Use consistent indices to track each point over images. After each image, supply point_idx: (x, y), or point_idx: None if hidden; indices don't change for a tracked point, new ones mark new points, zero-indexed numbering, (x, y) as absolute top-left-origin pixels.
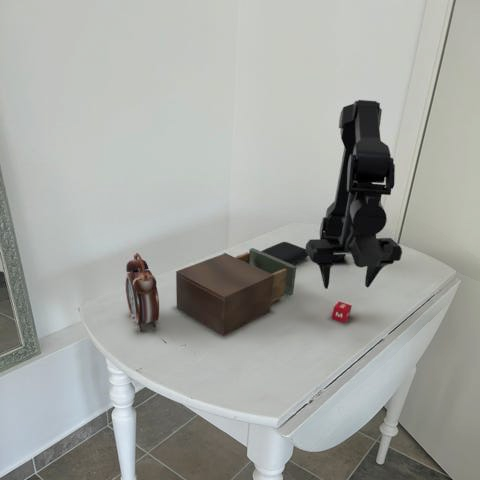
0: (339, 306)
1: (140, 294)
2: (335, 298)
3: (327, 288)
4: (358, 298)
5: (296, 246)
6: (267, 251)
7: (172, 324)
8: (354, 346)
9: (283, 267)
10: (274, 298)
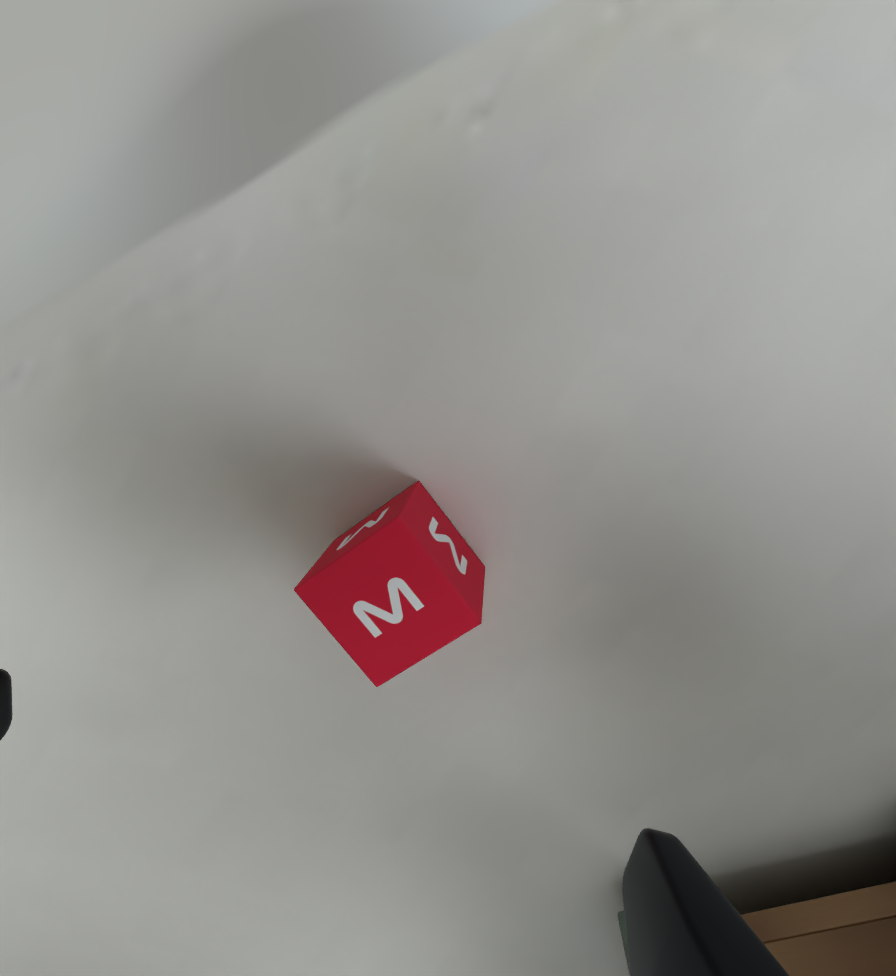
0: (423, 611)
1: None
2: (302, 782)
3: (646, 831)
4: (136, 729)
5: None
6: None
7: None
8: (547, 112)
9: None
10: (851, 917)
